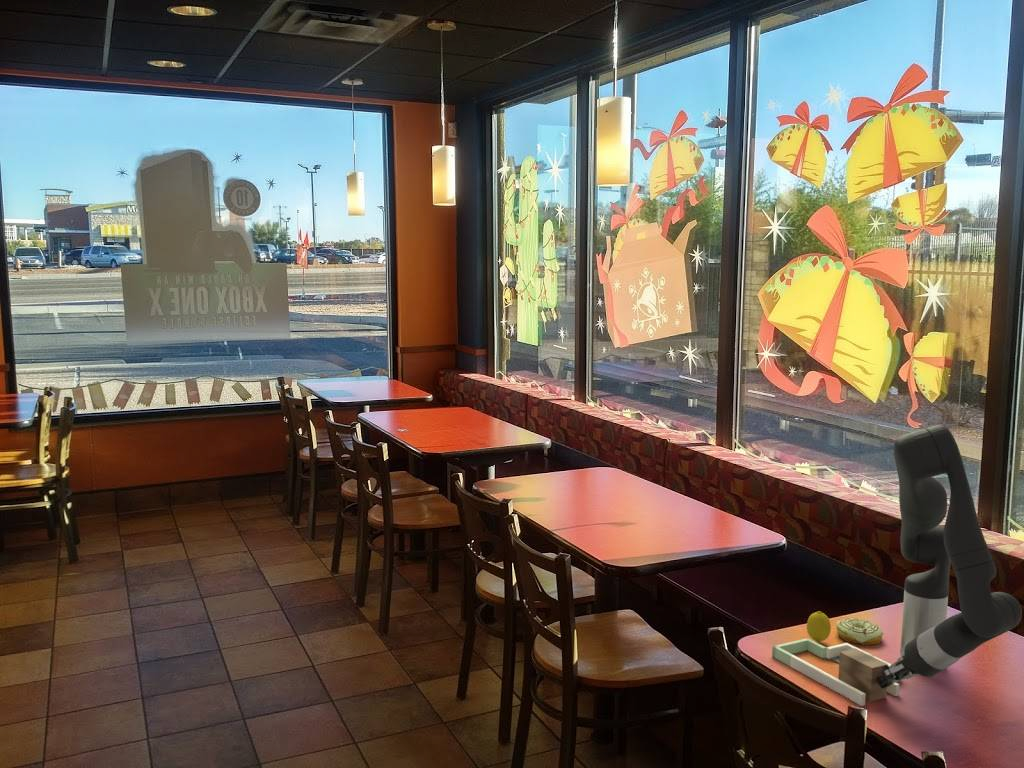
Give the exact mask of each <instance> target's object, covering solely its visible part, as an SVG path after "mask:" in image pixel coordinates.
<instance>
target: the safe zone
mask: <svg viewBox="0 0 1024 768" xmlns="http://www.w3.org/2000/svg"><path fill="white" fill-rule="evenodd" d="M771 650H772V651H771V657H773V658H774V659H776V660H778V661H780V662H782V663H783V664H786V665H787V666H789V667H790V659H791V656H793V655H794V654H798V653H801V652H805V651H807V650H808V651H807V652H809V651H810V653H811V652H812V653H811V654H813V655H815V656H818V657H819V658H821V659H827V658H826V646H824V645H823V644H820V643H817V642H816V641H815V640H813V639H810V638H809V637H807V638H806V637H805V638H802V639H798V640H794V641H789V642H785V643H780V644H776V645H772V649H771Z"/></svg>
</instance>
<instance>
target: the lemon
mask: <svg viewBox="0 0 1024 768" xmlns="http://www.w3.org/2000/svg"><path fill="white" fill-rule="evenodd" d="M831 629H832V626H831V621H830V619H829V617H828V616H827V615H826V614H825V613H824V612H822V611H820V610H819V611H816V612H813V613H811V614H810V616H809V617H808V618H807V623H806V630H807V631H806V632H807V634H808V636H809V637H810V638H811V640H812V641H814V642H816V643H818V644H820V642H823V641H826V640H827V639H828V638H829V636H830V635H831Z"/></svg>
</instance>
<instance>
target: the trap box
mask: <svg viewBox="0 0 1024 768" xmlns="http://www.w3.org/2000/svg"><path fill="white" fill-rule="evenodd" d="M825 647H826V646H825ZM854 648H855V649H857V650H859V651H861V652H863V653H865V654H867V655H870V656H872V657H874V658H876V659H878V660H880V661H882V662H884V663H886V664H888V666H890V665H892V664H893V663H889V662H887V661H885V660H884V659H881V658H880V657H878V656H875V655H873V654H871V653H869V652H868V651H865V650H863V649H860V648H858V647H856V646H855V645H852V644H850V643H849V642H843V643H840V644H836V645H830V646H827V647H826V658H825V659H827V658H828V659H827V660H831V661H833V662H834V661H835V663H836V662H837V663H836V664H838V665H839V657H840V652H842V651H846V650H850V649H854ZM789 667H791V668H793V669H794V670H796V671H798V672H800V673H801V674H803V675H805V676H807V677H808V678H810V679H812V680H814V681H816V682H818V683H819V684H821V683H822V684H821V685H823V686H825V687H826V686H827V687H826V688H828V687H829V688H828V689H830V690H832V691H834V692H835V691H836V692H835V693H837V692H838V694H839V693H840V695H841V694H842V695H841V696H843V695H844V696H845V697H844V696H843V697H844V698H846V697H847V698H846V699H848V698H849V699H848V700H849V701H851V702H854V703H855V704H857V705H859V706H860V707H863V706H865V705H866V699H865V696H866V694H865V693H863V692H861V691H860V690H858V689H856V688H854V687H852V686H850V685H848V684H847V683H845V682H843V681H841V680H839V679H838V677H836V676H834V675H831V674H830V673H827V672H825V671H824V670H822V669H820V668H819V667H817V666H815V665H813V664H811V663H809V662H807V661H806V660H804V659H802V658H800V657H798V656H797V655H794V654H793V656H791V659H790V666H789ZM900 686H901V685H900V683H897V682H895V683H894V684H892V685H891V686H889V687H886V693H888V694H890V695H892V696H894V697H898V696H900Z"/></svg>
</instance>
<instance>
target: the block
mask: <svg viewBox="0 0 1024 768" xmlns="http://www.w3.org/2000/svg"><path fill="white" fill-rule="evenodd" d="M884 666H888V664H886V663H884V662H882V661H880V660H878V659H876V658H874V657H872V656H870V655H867V654H865V653H863V652H861V651H859V650H857V649H855V648H854V649H850V650H846V651H842V652H840V657H839V664H838V676H837V679H839V680H841V681H843V682H845V683H847V684H848V685H850V686H852V687H854V688H856V689H858V690H860V691H861V692H863V693H865V694H866V696H865V701H866V700H867V702H870V703H871V702H875V701H878V700H881V699H886V698H887V697H886V696H887V692H886V688H881V687H880V685H879V683H878V681H877V679H878V678H879V677H881V676H882V673H881V672H882V668H883V667H884Z"/></svg>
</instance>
